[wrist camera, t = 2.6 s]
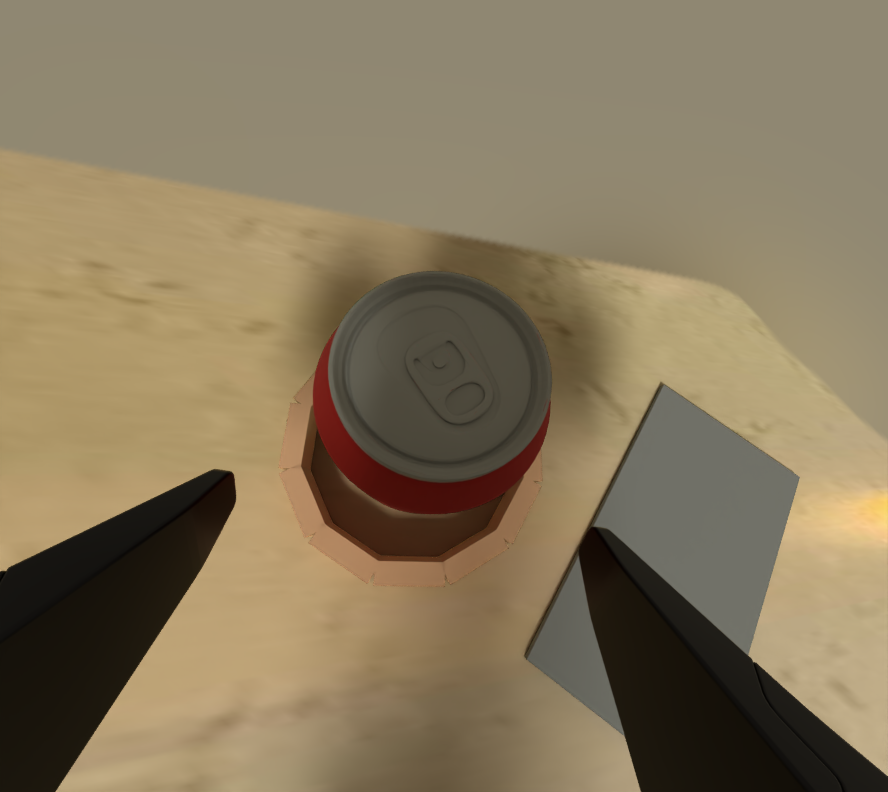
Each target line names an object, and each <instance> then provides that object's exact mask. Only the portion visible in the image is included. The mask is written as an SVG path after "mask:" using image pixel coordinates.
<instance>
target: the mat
mask: <svg viewBox="0 0 888 792" xmlns="http://www.w3.org/2000/svg"><path fill="white" fill-rule="evenodd" d="M799 478H800V477H799V476H797V475H796V474H794V473H793V472H791V471H790V470H789V469H787V468H786V467H784V466H783V465H781V464H780V463H778V462H777V461H775V460H774V459H772V458H771V457H769V456H768V455H767V454H765V453H764V452H762V451H761V450H759V449H758V448H756V447H755V446H753V445H752V444H750V443H749V442H747V441H746V440H745V439H743V438H742V437H740V436H739V435H737V434H736V433H734V432H733V431H731V430H730V429H728V428H727V427H725V426H724V425H723V424H721V423H720V422H718V421H717V420H715V419H714V418H712V417H711V416H709V415H708V414H706V413H705V412H703V411H702V410H701V409H699V408H698V407H696V406H695V405H693V404H692V403H690V402H689V401H687V400H686V399H684V398H683V397H681V396H680V395H679V394H677V393H676V392H674V391H673V390H671V389H670V388H668V387H667V386H665V385H662V386H661V387H660V389H659V391H658V393H657V395H656V396H655V398H654V400H653V402H652V404H651V406H650V408H649V410H648V412H647V414H646V416H645V418H644V420H643V422H642V424H641V426H640V428H639V430H638V432H637V434H636V436H635V438H634V440H633V442H632V444H631V446H630V448H629V450H628V452H627V454H626V456H625V458H624V460H623V462H622V464H621V466H620V468H619V470H618V472H617V474H616V476H615V478H614V480H613V482H612V484H611V486H610V488H609V490H608V492H607V494H606V496H605V498H604V500H603V502H602V504H601V506H600V508H599V510H598V512H597V514H596V516H595V518H594V520H593V522H592V524H591V526H590V528H591V527H592V526H597V527H603V528H607V529H609V530H610V531H612V532H613V533H614V534H615V535H616V536H617V537H618V538H619V539H620V540H621V541H623V542H624V543H625V544H626V545H627V546H628V547H629V548H630V549H631V550H632V551H634V552H635V553H636V554H637V555H638V556H639V557H640V558H641V559H642V560H643V561H645V562H646V563H647V564H648V565H649V566H650V567H651V568H652V569H653V570H654V571H656V572H657V573H658V574H659V575H660V576H661V577H662V578H663V579H664V580H665V581H667V582H668V583H669V584H670V585H671V586H672V587H673V588H674V589H675V590H677V591H678V592H679V593H680V594H681V595H682V596H683V597H684V598H685V599H686V600H688V601H689V602H690V603H691V604H692V605H693V606H694V607H695V608H696V609H697V610H699V611H700V612H701V613H702V614H703V615H704V616H705V617H706V618H707V619H708V620H710V621H711V622H712V623H713V624H714V625H715V626H716V627H717V628H718V629H719V630H721V631H722V632H723V633H724V634H725V635H726V636H727V637H728V638H729V639H730V640H732V641H733V642H734V643H735V644H736V645H737V646H738V647H739V648H740V649H741V650H743V651H744V652H745V653H746V654H747V655H748V654H749V650H750V647H751V643H752V640H753V636H754V633H755V630H756V626H757V623H758V619H759V616H760V612H761V609H762V605H763V602H764V599H765V595H766V592H767V588H768V585H769V581H770V578H771V574H772V571H773V568H774V564H775V561H776V557H777V554H778V550H779V547H780V543H781V540H782V537H783V533H784V530H785V526H786V523H787V519H788V516H789V512H790V509H791V506H792V502H793V499H794V495H795V492H796V488H797V485H798V481H799ZM578 552H579V550H578ZM578 552H577V554H576V556H575V558H574V560H573V562H572V564H571V566H570V568H569V570H568V572H567V574H566V576H565V578H564V580H563V582H562V584H561V586H560V588H559V590H558V592H557V594H556V596H555V598H554V600H553V602H552V604H551V606H550V608H549V610H548V612H547V614H546V616H545V618H544V620H543V621H542V623H541V625H540V627H539V629H538V631H537V633H536V635H535V637H534V639H533V641H532V643H531V645H530V647H529V649H528V651H527V653H526V655H525V658H526V659H527V660H528V661H529V662H531V663H532V664H533V665H535V666H536V667H537V668H538V669H540V670H541V671H542V672H543V673H545V674H546V675H547V676H549V677H550V678H551V679H552V680H554V681H555V682H556V683H557V684H559V685H560V686H561V687H563V688H564V689H565V690H566V691H568V692H569V693H570V694H572V695H573V696H574V697H575V698H577V699H578V700H579V701H580V702H582V703H583V704H584V705H586V706H587V707H588V708H589V709H591V710H592V711H593V712H595V713H596V714H597V715H598V716H600V717H601V718H602V719H603V720H605V721H606V722H607V723H609V724H610V725H611V726H612V727H614V728H615V729H616V730H618V731H619V732H620V733H621V734H623V735H624V732H623V728H622V725H621V721H620V718H619V714H618V711H617V708H616V704H615V701H614V697H613V694H612V690H611V687H610V684H609V680H608V677H607V673H606V670H605V666H604V663H603V659H602V656H601V653H600V649H599V646H598V642H597V639H596V635H595V632H594V629H593V625H592V621H591V617H590V613H589V608H588V603H587V598H586V593H585V587H584V582H583V577H582V572H581V566H580V561H579V554H578ZM624 736H625V735H624Z"/></svg>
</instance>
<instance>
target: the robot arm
mask: <svg viewBox="0 0 888 792" xmlns="http://www.w3.org/2000/svg"><path fill="white" fill-rule="evenodd" d="M235 502H236V488H235V478H234V474H233V473H232V472H231V471H226V470H219V469H213V470H211V471H208V472H206V473H204V474H202V475H200V476H198V477H196V478H194V479H192V480H190V481H188V482H185V483H183V484H181V485H179V486H177V487H175V488H173V489H171V490H169V491H167V492H165V493H163V494H161V495H158V496H156V497H154V498H152V499H150V500H148V501H146V502H144V503H142V504H140V505H138V506H136V507H134V508H131V509H129V510H127V511H125V512H123V513H121V514H119V515H117V516H115V517H113V518H111V519H109V520H107V521H104V522H102V523H100V524H98V525H96V526H94V527H92V528H90V529H88V530H86V531H84V532H82V533H79V534H77V535H75V536H73V537H71V538H69V539H67V540H65V541H63V542H61V543H59V544H57V545H55V546H52V547H50V548H48V549H46V550H44V551H42V552H40V553H38V554H36V555H34V556H32V557H30V558H28V559H25V560H23V561H21V562H19V563H17V564H15V565H13V566H11V567H9V568H8V569H7V570H6V571H0V792H56V790H57V789H58V787H59V786H60V784H61V783H62V781H63V780H64V778H65V776H66V775H67V773H68V772H69V770H70V769H71V767H72V766H73V764H74V763H75V761H76V760H77V758H78V757H79V755H80V754H81V752H82V751H83V749H84V747H85V746H86V744H87V743H88V741H89V740H90V738H91V737H92V735H93V734H94V732H95V731H96V729H97V728H98V726H99V725H100V723H101V722H102V720H103V719H104V717H105V715H106V714H107V712H108V711H109V709H110V708H111V706H112V705H113V703H114V702H115V700H116V699H117V697H118V696H119V694H120V693H121V691H122V690H123V688H124V686H125V685H126V683H127V682H128V680H129V679H130V677H131V676H132V674H133V673H134V671H135V670H136V668H137V667H138V665H139V664H140V662H141V661H142V659H143V657H144V656H145V654H146V653H147V651H148V650H149V648H150V647H151V645H152V644H153V642H154V641H155V639H156V638H157V636H158V635H159V633H160V632H161V630H162V629H163V627H164V625H165V624H166V622H167V621H168V619H169V618H170V616H171V615H172V613H173V612H174V610H175V609H176V607H177V606H178V604H179V603H180V601H181V600H182V598H183V596H184V595H185V593H186V592H187V590H188V589H189V587H190V586H191V584H192V583H193V581H194V580H195V578H196V577H197V575H198V573H199V572H200V570H201V569H202V567H203V565H204V563H205V561H206V560H207V558H208V556H209V554H210V552H211V550H212V548H213V546H214V544H215V542H216V540H217V539H218V537H219V535H220V533H221V531H222V529H223V527H224V525H225V523H226V521H227V519H228V517H229V515H230V514H231V512H232V510H233V508H234V505H235ZM578 554H579V561H580V566H581V572H582V577H583V582H584V587H585V593H586V598H587V603H588V608H589V613H590V617H591V621H592V625H593V629H594V632H595V635H596V639H597V642H598V646H599V649H600V653H601V656H602V659H603V663H604V666H605V670H606V673H607V677H608V680H609V684H610V687H611V690H612V694H613V697H614V701H615V704H616V708H617V711H618V714H619V718H620V721H621V725H622V728H623V732H624V735H625V738H626V742H627V745H628V749H629V752H630V756H631V759H632V763H633V766H634V769H635V773H636V776H637V780H638V783H639V787H640V790H641V792H888V776H887V775H885V774H884V773H883V772H882V771H881V770H880V769H878V768H877V767H876V766H875V765H874V764H872V763H871V762H870V761H869V760H868V759H866V758H865V757H864V756H863V755H862V754H860V753H859V752H858V751H857V750H856V749H854V748H853V747H852V746H851V745H850V744H848V743H847V742H846V741H845V740H844V739H842V738H841V737H840V736H839V735H838V734H837V733H835V732H834V731H833V730H832V729H831V728H829V727H828V726H827V725H826V724H825V723H824V722H822V721H821V720H820V719H819V718H818V717H817V716H815V715H814V714H813V713H812V712H811V711H809V710H808V709H807V708H806V707H805V706H804V705H803V704H802V703H800V702H799V701H798V700H797V699H796V698H795V697H794V696H793V695H791V694H790V693H789V692H788V691H787V690H786V689H785V688H784V687H782V686H781V685H780V684H779V683H778V682H777V681H776V680H775V679H773V678H772V677H771V676H770V675H769V674H768V673H767V672H766V671H765V670H764V669H763V668H761V667H760V666H759V665H758V664H757V663H755V662H753V660H752V659H751V658H750V657H749V656H748V655H747V654H746V653H745V652H744V651H743V650H741V649H740V648H739V647H738V646H737V645H736V644H735V643H734V642H733V641H732V640H730V639H729V638H728V637H727V636H726V635H725V634H724V633H723V632H722V631H721V630H719V629H718V628H717V627H716V626H715V625H714V624H713V623H712V622H711V621H710V620H708V619H707V618H706V617H705V616H704V615H703V614H702V613H701V612H700V611H699V610H697V609H696V608H695V607H694V606H693V605H692V604H691V603H690V602H689V601H688V600H686V599H685V598H684V597H683V596H682V595H681V594H680V593H679V592H678V591H677V590H675V589H674V588H673V587H672V586H671V585H670V584H669V583H668V582H667V581H665V580H664V579H663V578H662V577H661V576H660V575H659V574H658V573H657V572H656V571H654V570H653V569H652V568H651V567H650V566H649V565H648V564H647V563H646V562H645V561H643V560H642V559H641V558H640V557H639V556H638V555H637V554H636V553H635V552H634V551H632V550H631V549H630V548H629V547H628V546H627V545H626V544H625V543H624V542H623V541H621V540H620V539H619V538H618V537H617V536H616V535H615V534H614V533H613V532H612V531H610V530H609V529H607V528H603V527H597V526H592V527H591V528H589V530H588V532H587V534H586V536H585V537H584V539H583V541H582V543H581V545H580V547H579V552H578Z"/></svg>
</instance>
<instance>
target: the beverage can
mask: <svg viewBox="0 0 888 792" xmlns="http://www.w3.org/2000/svg"><path fill="white" fill-rule="evenodd" d="M551 387H552V375H551V366H550V361H549V357H548V353H547V350H546V346H545V344H544V342H543V339H542V337H541V335H540V333H539V331H538V330H537V328H536V326H535V325H534V323H533V322H532V320H531V319H530V318H529V316H528V315H527V314H526V313H525V312H524V310H523V309H522V308H521V307H520V306H519V305H518V304H517V303H515V302H514V301H513V300H512V299H511V298H510V297H508V296H507V295H506V294H504V293H503V292H501V291H500V290H498V289H497V288H495V287H493V286H491V285H489V284H487V283H485V282H483V281H481V280H478V279H475V278H473V277H469V276H466V275H462V274H457V273H452V272H442V271H426V272H417V273H411V274H407V275H403V276H399V277H396V278H394V279H391V280H389V281H386V282H384V283H382V284H380V285H379V286H377V287H375V288H374V289H372V290H371V291H369V292H368V293H367V294H365V295H364V296H363V297H362V298H361V299H359V300H358V301H357V302H356V303H355V304H354V306H353V307H352V308H351V309H350V310H349V312H348V313H347V314H346V315H345V317H344V318H343V320H342V322H341V323H340V325H339V326H338V328H337V329H336V330H335V331H334V333H333V334H332V336H331V337H330V339H329V340H328V342H327V344H326V346H325V348H324V350H323V352H322V354H321V357H320V359H319V362H318V365H317V369H316V372H315V377H314V384H313V410H314V416H315V421H316V425H317V429H318V432H319V435H320V437H321V440H322V442H323V444H324V446H325V448H326V450H327V452H328V454H329V455H330V457H331V458H332V460H333V462H334V463H335V464H336V466H337V467H338V468H339V469H340V471H341V472H342V473H343V474H344V475H345V476H346V477H347V478H348V479H349V480H350V481H351V482H352V483H354V484H355V485H356V486H357V487H358V488H360V489H361V490H362V491H364V492H365V493H366V494H368V495H369V496H371V497H372V498H374V499H375V500H377V501H379V502H380V503H382V504H384V505H386V506H389V507H391V508H394V509H397V510H400V511H404V512H410V513H417V514H447V513H455V512H460V511H465V510H469V509H472V508H475V507H478V506H480V505H483V504H485V503H487V502H489V501H491V500H493V499H495V498H497V497H498V496H500V495H501V494H503V493H504V492H506V491H507V490H508V489H510V488H511V487H512V486H513V485H514V484H515V483H516V482H517V481H518V480H519V479H520V478H521V477H522V476H523V475H524V474H525V473H526V472H527V470H528V469H529V468H530V466H531V465H532V463H533V462H534V460H535V459H536V457H537V455H538V453H539V451H540V449H541V447H542V444H543V442H544V439H545V436H546V432H547V428H548V424H549V417H550V404H551V402H550V398H551Z"/></svg>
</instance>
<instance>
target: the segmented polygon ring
mask: <svg viewBox="0 0 888 792" xmlns="http://www.w3.org/2000/svg"><path fill="white" fill-rule="evenodd" d="M314 377H315V373H314V374H313V375H312V376H311V377H310V379H309V380H308V381H307V382H306V383H305V384H304V386H303V387H302V388H301V389H300V390H299V391H298V393H297V394H296V395H295V396H294V397H293V398H294V400H295V401H296V402H297V403H290V408H289V414H288V419H287V425H286V430H285V435H284V441H283V446H282V451H281V457H280V462H279V467H278V468H281V469H284V470H285V471H283V472H281V473H279V474H280V477H281V479H282V482H283V485H284V487H285V490H286V492H287V495H288V497H289V500H290V502H291V505H292V507H293V510H294V512H295V515H296V517H297V520H298V522H299V525H300V528H301V530H302V533H303V535H304V538H306V537H309V536H313V535H314V536H313V537H312V538H311V540H310V541H309V544H311V545H312V546H314V547H315V548H317V549H318V550H319V551H321V552H322V553H324V554H325V555H327V556H328V557H329V558H331V559H332V560H334V561H335V562H337V563H338V564H340V565H341V566H342V567H344V568H345V569H347V570H348V571H350V572H351V573H353V574H354V575H355V576H357V577H358V578H360V579H361V580H363V581H364V582H366V583H368V582H369V580H370V579H371V577H372V575H373V574H374V583H373V586H433V587H445V578H446V579H447V581H448V582H449V583H450V585H451V584H453V583H454V582H456V581H458V580H459V579H461V578H462V577H464V576H466V575H467V574H469V573H470V572H472V571H474V570H475V569H477V568H478V567H480V566H481V565H483V564H485V563H486V562H488V561H489V560H491V559H493V558H494V557H496V556H497V555H499V554H501V553H502V552H504V551H505V550H507V549H509V548H508V546H507V544H506V542H507V543H510V544H513V542H514V540H515V538H516V536H517V534H518V532H519V530H520V528H521V526H522V524H523V522H524V520H525V518H526V516H527V514H528V512H529V510H530V508H531V506H532V504H533V502H534V500H535V498H536V496H537V494H538V492H539V490H540V488H541V486H540V485H539V484H537V483H536V482H540V481H543V480H542V460H541V449H540V451H539V453H538V455H537V457H536V459H535V460H534V462H533V463H532V465H531V466H530V468H529V469H528V470H527V472H526V473H525V474H524V475H523V476H522V477H521V478H520V479H519V480H518V481H517V482H516V483H515V484H514V485H513V486H512V487H511V488H510V489H508V490H507V491H506V492H505V494H504V495H503V497H502V499H501V501H500V503H499V505H498V507H497V508H496V510H495V512H494V514H493V516H492V518H491V520H490V522H489V523H488V525H487V527H486V528H485V529H483V530H482V531H480V532H478V533H477V534H475V535H473V536H472V537H470V538H468V539H467V540H465V541H463V542H462V543H460V544H458V545H457V546H455V547H453V548H452V549H450V550H448V551H447V552H445V553H443V554H442V555H440V556H438V557H427V556H386V555H379V554H377V553H376V552H374V551H373V550H372V549H370V548H369V547H367V546H366V545H364V544H363V543H361V542H360V541H358V540H357V539H356V538H354V537H353V536H351V535H350V534H348V533H347V532H345V531H344V530H342V529H341V528H340V527H338V526H337V525H335V524H334V523H332V520H331V518H330V515H329V513H328V511H327V508H326V506H325V503H324V501H323V499H322V496H321V494H320V492H319V489H318V487H317V484H316V482H315V480H314V477H313V475H312V472H311V465H312V458H313V452H314V446H315V439H316V433H317V425H316V421H315V416H314V410H313V384H314Z"/></svg>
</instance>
